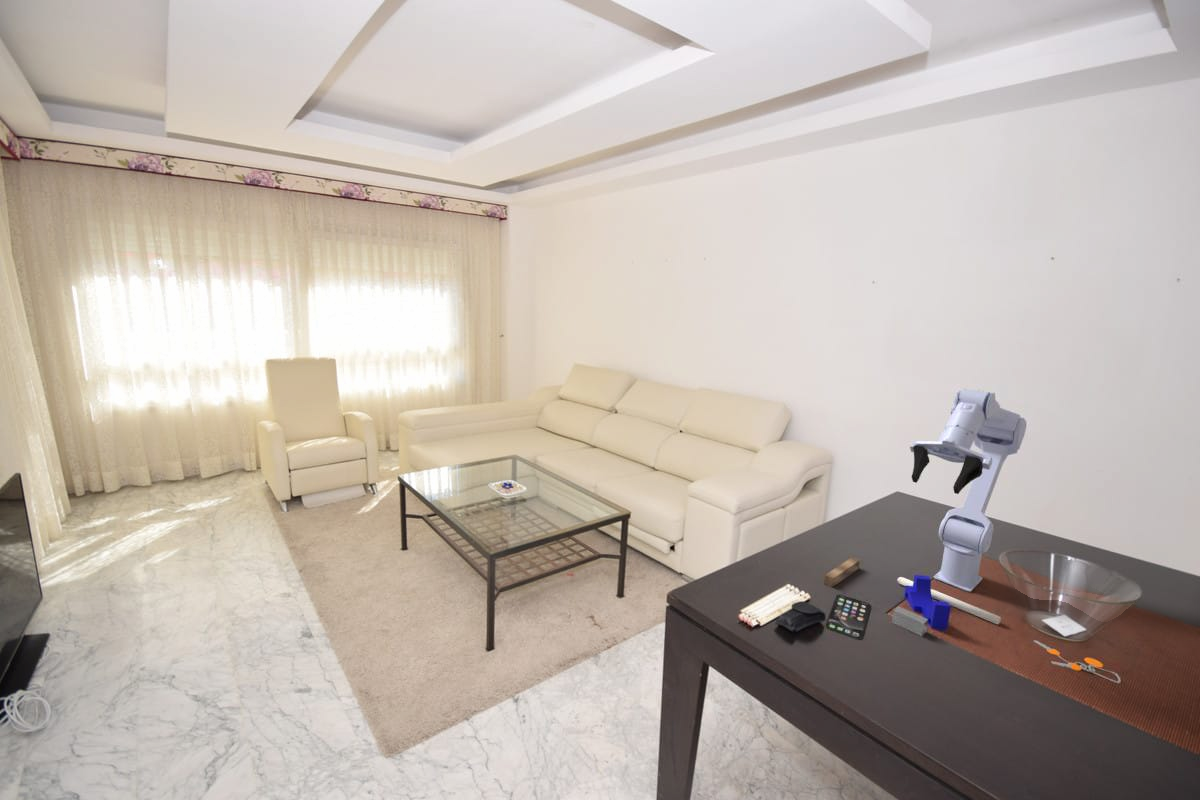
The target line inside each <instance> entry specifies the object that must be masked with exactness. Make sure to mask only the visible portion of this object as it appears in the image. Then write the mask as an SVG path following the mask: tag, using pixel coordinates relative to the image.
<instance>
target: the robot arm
mask: <svg viewBox="0 0 1200 800" xmlns="http://www.w3.org/2000/svg"><path fill="white" fill-rule="evenodd" d="M1000 406H1001V405H1000V403H999V402H998V401H997V399H996V394H995V392H993V393H992V392H989V391H984V390H979V389H978V390H975V389H974V390H973V389H969V388H963V389H962V390H958V391H957V392H956V394H955V396H954V401H953V404H952V407H951V410H950V417H949V419H948V421H947V423H946V425H945V427H944V429H943V431H942V433H941V435H940V437H939V438H938V441H937V440H936V441H935V440H934V441H930V440H929V441H928V440H927V441H926V440H924V441H923V440H914V439H913V440H912V442H911V443H910V446H909V449H910V452H911V453H913V470H912V475H911V480H912V482H913V483H915V484H917V483H918V481H919V480H920V477H921V476H922V473H923V471H924V469H925V468H926V467H927V466H928V465H929V464H930V457H929V455H932V456H935V457H937V458H939V459H942V460H944V461H948V462H950V463H956V464H957V463H958V464H960V463H961V464H962V468H961V470H960V473H959V475H958V476H957V478H956V480H955V482H954V484H953V487H952V489H953V492H954V494H957V495H959V493H960V492H961V491H963V489H964V488H965V487H966V486H967V485H968V484H970V485H969V488H968V490H967V492H966V496H965V498H964V501H963V503H962V505H961V506H958V507H955V508H952V509H949V510H948V511H947V512H946V514H945V516H944V518H943V519H942V521H941V522H940V525H939V529H938V536H939V539H940V540H941V541H942V545H943V546H944V550H943V555H942V559H941V560H942V561H941V567H940V570H939V571H938V572H937V573H936V574H935V575H934V576H933V578H934V579H935V580H938V581H940V582H941V583H945V584H948V585H951V586H953V587H956V588H958V589H961V590H964V591H965V592H969V593H970V592H972V591H973V589H974V590H975V588H976V586H978V585H979V583H981V581H983V577H982V576H980V575H979V573H980V572H979V571H980V567H981V562H982V557H983V555H982V554H985V553H987V552H988V551H989V548H990V546H991V544H992V540H993V539H992V538H993V534H994V529H995V528H994V524H993V522H992V521H991V520H990V519H989V518H988V516H986V515H985V513H986V510H987V507H988V505H989V503H990V500H991V497H992V494H993V491H994V489H995V487H996V484H997V480H998V478H999V475H1000V473H1001V470H1002V467H1003V465H1004V463H1005V462H1006V460H1007V458H1008V456H1011V455H1015V454H1018V450H1020V449H1021V446H1022V443H1023V440H1024V437H1025V436H1026V435H1025V434H1026V431H1027V420H1026V418H1024V417H1021V415H1020V414H1018V413H1016V412H1013V411H1011V410H1007V409H1005V408H1002V407H1000ZM973 444H974V446H975V447H977V448H979V449H980V451H981V453H980V452H978V451H975V450H972V449H971V448H972V446H973ZM970 482H971V483H970Z"/></svg>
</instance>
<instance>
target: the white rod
mask: <svg viewBox="0 0 1200 800" xmlns="http://www.w3.org/2000/svg"><path fill="white" fill-rule="evenodd" d="M897 582H898V584H900V585H902V587H906V585H907V586H913V582H914V580H910V579H908V578H905V577H903V576H900V577H899V576H898V578H897ZM931 596H932V599H935V600H936V601H937V600H938V601H940V602H948V603H949V604H950V606H951V607H954V608H957V609H960V610H961V611H964V612H966V613H970V614H971V615H972V616H973V615H974V616H976V617H978V618H980V619H983V620H985V621H989V623H990V622H991V623H993V624H995V625H998V626H999V625H1000V623H1001V620H1002V616H999V615H997V614H994V613H992V612H989V611H987V610H985V609H982V608H980V607H977V606H975V605H973V604H969V603H967V602H964V600H963V601H962V600H960V599H957V598H954V597H952V596H950V595H947V594H945V593H942V592H940V591H938V590H935V589H932V588H931Z"/></svg>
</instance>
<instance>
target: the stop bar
mask: <svg viewBox="0 0 1200 800" xmlns="http://www.w3.org/2000/svg"><path fill="white" fill-rule="evenodd" d="M860 563H861V560H860V559H858V558H856V557H852V556H851V557H849V559H847V560H845V561H844V562H843V563H841V564H840V565H838V566H836V567H835V568H833V569H831V570H830V571H829V572H827V573H826V574H825V575H824V582H823V584H825V585H826V586H828V587H830V588H833V587H835V586H836V585H837V584H839V583H840V582H842V581H843V580H844V579H846V578H847V577H849V576H850V575H852V574H853V573H855V572H856V571H857V570H859V567H860Z"/></svg>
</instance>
